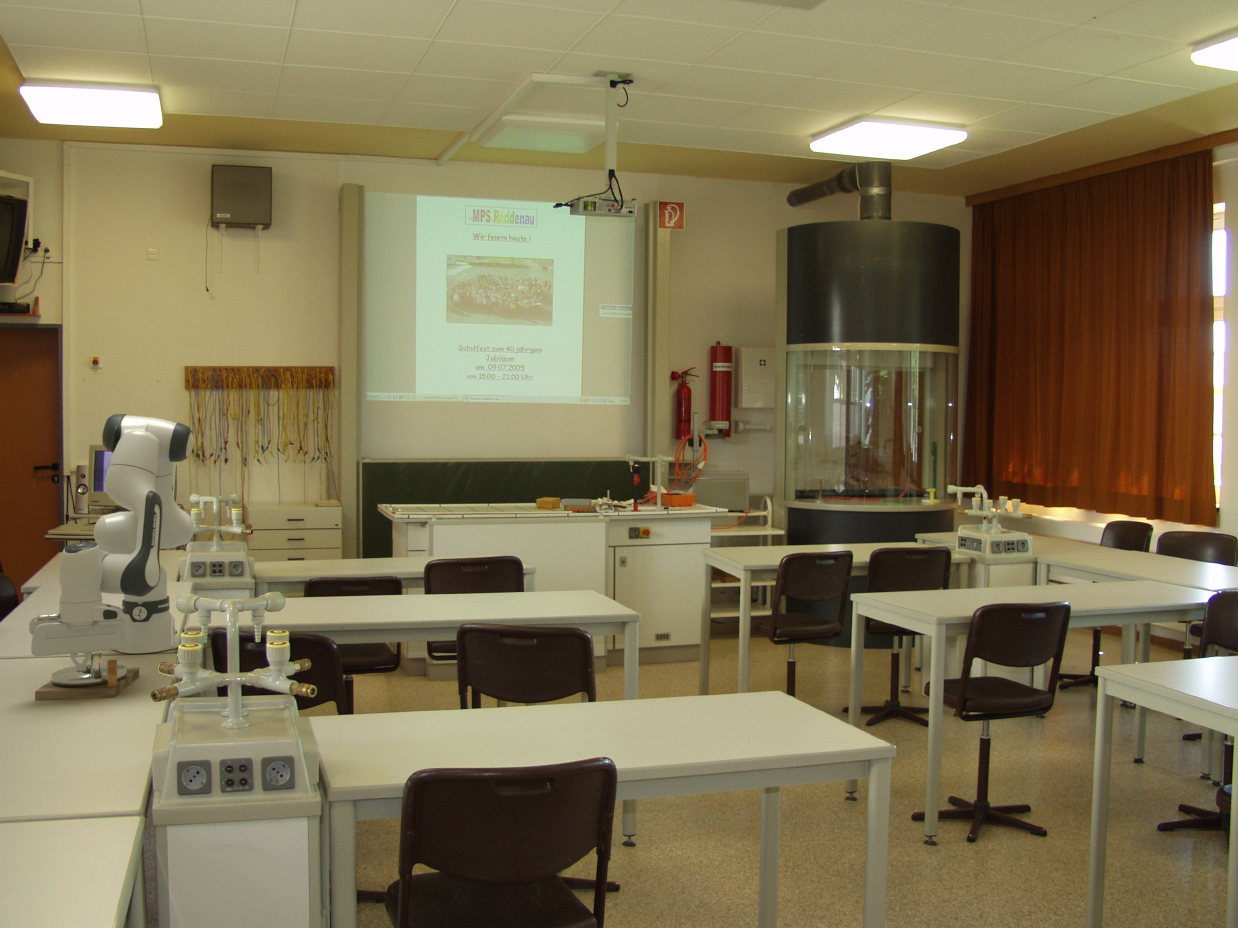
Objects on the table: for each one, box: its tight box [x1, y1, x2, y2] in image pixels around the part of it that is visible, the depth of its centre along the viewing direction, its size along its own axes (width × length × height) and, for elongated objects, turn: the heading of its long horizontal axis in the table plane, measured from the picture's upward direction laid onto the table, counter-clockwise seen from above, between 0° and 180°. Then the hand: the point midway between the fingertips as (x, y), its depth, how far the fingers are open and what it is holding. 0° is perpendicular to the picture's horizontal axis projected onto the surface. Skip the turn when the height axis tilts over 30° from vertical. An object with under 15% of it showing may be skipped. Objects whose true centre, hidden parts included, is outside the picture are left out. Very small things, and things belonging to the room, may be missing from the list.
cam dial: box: [51, 651, 128, 687], centre depth 243 cm, size 16×16×7 cm
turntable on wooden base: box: [34, 659, 141, 701], centre depth 243 cm, size 20×17×8 cm
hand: (80, 671), depth 236 cm, fingers closed
